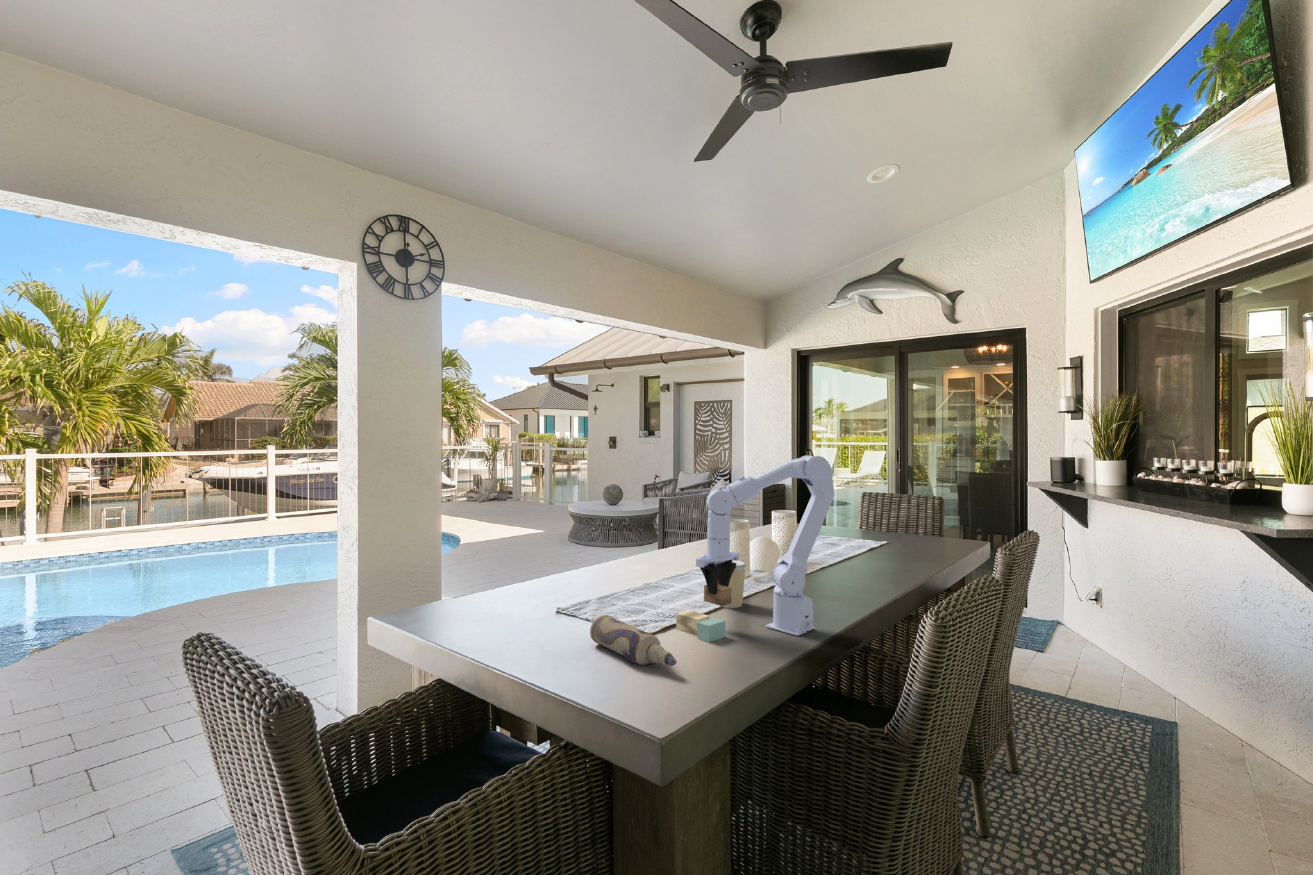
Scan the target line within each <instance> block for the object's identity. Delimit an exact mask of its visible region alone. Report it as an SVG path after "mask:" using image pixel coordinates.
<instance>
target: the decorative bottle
mask: <svg viewBox="0 0 1313 875" xmlns="http://www.w3.org/2000/svg"><path fill="white" fill-rule="evenodd" d="M589 634H590V638H591V639H592V641H593V643H594V642H595V644H598V645H601V646H603V647H604V648H606V649H609V650H610V651H612V652H614V653H617V654H619V655H621V656H623V657H624V658H625V659H626V660H627V661H629V662H630V663H633V664H635V665H638V666H641V667H642V666H649V665H652V664H653V665H656V664H658V665H659V664H660V665H662V666H671V667H673V666H675V665H676V664H677V662H678V661H677V660H676V658H675V657H674V656H673V654H672V653H671V652H670V651H668V650H666V649H664V647H663V646H662V645H661V641H660V640H659V638H658V637H657V636H656V635H654V634H651V633H650V632H647V631H644V630H643V629H640V628H638V627H635V626H633V625H631V624H629V623H626V622H624V621H621V620H619V619H617V618H614V617H613V616H611V615H609V614H603V615H600V616H598V617H596V618H595V619H594V620H593V622H592V623H591V626H590V630H589Z"/></svg>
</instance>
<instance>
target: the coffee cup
mask: <svg viewBox="0 0 1313 875" xmlns="http://www.w3.org/2000/svg"><path fill="white" fill-rule="evenodd" d="M732 562H733V563H736V568H735V570H734V572H733V574H732V576H731V579H730V582H729V586H728V587H731V588H732V592H731V604H728V605H725V606H723V607H722V608H725V609H735V608H736V609H737V608H740V607H742V606H743V600H744V589H745V576H746V573H745V572H746V567H747V566H746V565H745V562H744V561H742V560H738V561H736V560H733V561H732ZM715 566H716V564H715Z"/></svg>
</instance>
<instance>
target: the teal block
mask: <svg viewBox="0 0 1313 875" xmlns="http://www.w3.org/2000/svg"><path fill="white" fill-rule="evenodd" d="M696 638H697V639H698V640H700V641H703V642H706V643H710V642H714V641H717V640H720V639H723V638H726V620H724V619H721V618H717V617H712V618H709V619H708V620H704V621H701V622H698V635H697V637H696Z"/></svg>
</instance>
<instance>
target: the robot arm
mask: <svg viewBox="0 0 1313 875" xmlns="http://www.w3.org/2000/svg"><path fill="white" fill-rule="evenodd" d="M833 475H834V469H833V468H832V467H831V464H830V462H829V461H828V460H827V459H826V458H824V457H823V456H820V455H816V456H815V455H808V454H806V455H803V456H801V457H799V458H793V459H791V460H789V461H786V462H784V463H782V464H780V465H778V466H776V467H774V468H772V469H771V470H769V471H767V472H764V473H763V474H760V475H758V476H757V477H755V478H754V477H752V476H749V475H747V476H745V477H744V476H743V475H741V476H739V477H738V478H737V480H736V481H734V482H732V483H730V484H727V485H725V484H723V485H721V489H715V490H712V491H710V493H709V494H708V495H707V498H706V500H705V504H706V507H707V508H708V511H707V517H708V518H707V530H706V532H707V534H706V535H707V536H706V538H707V540H706V543H707V546H706V553H704V555H703V556H700V557H697V558H696V559H695V566H696V567H698V568H699V569H700V571H701V572H702V575H703V577H704V580H705V582H706V585H707V588H708V592H709V593H710V594H717V588H718V584H719V585H723V586H727V587H728V586H729V582H730V579H731V576H732V574H733V572H734V570H735V568H736V563H733V562H732V561H733V560H736V561H740V556H741V554H740V552H738V551H731V511H732V509H733V507H735V508H736V507H738V506H740V505H743V504H745V503H747V502H749V501H751V500H754V499H756V498H757V497H759V494H760V491H761V490H763V489H765V488H768V487H769V486H773V485H775V484H777V483H780V482H783V481H785V480H787V479H790V478H792V479H801V480H802V481H803V483H805V485H806V486H807V488H808V490H809V492H810V498H809V500H808V503H807V505H806V508H805V510H804V513H803V515H802V517H801V519H800V522H799V524H798V526H797V528H796V532H795V533H794V536H793V538H792V540H791V543H790V544H789V548H788V549H787V551H786V553H784V554H783V555H782V557H781V559H780V561H779V562H778V563H777V564H776V565H775V566H774V567H773V569H772V571H771V578H772V580H773V582H774V583H775V586H774V588H773V589H772V590H773V591H772V592H773V594H772V595H773V597H772V598H773V599H772V601H773V602H772V603H773V604H772V605H773V606H772V608H773V609H772V611H773V613H772V614H773V615H772V617H773V618H772V622H771V623H768V624H765V627H766V628H768V629H772V630H775V631H780V632H783V633H787V634H789V635H794V636H800V635H803V634H805V633H808V632H807V631H809V632H810V630H811V631H813V630H812V629H814V630H815V626H814V602H813V600H812V598H810V597H809V596H806V595H805V594H803V593H804V592H803V590H804V588H805V587H806V586H805V585H806V574H807V571H808V559H809V556H810V554H811V551H812V549H813V547H814V545H815V543H816V540H817V538H818V536H819V533H820V531H821V528H822V526H823V524H824V521H825V519H826V517H827V514H828V511H829V509H830V508H831V505H832V502H833V501H834V497H835V488H834V479H833ZM715 564H716V566H715Z"/></svg>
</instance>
